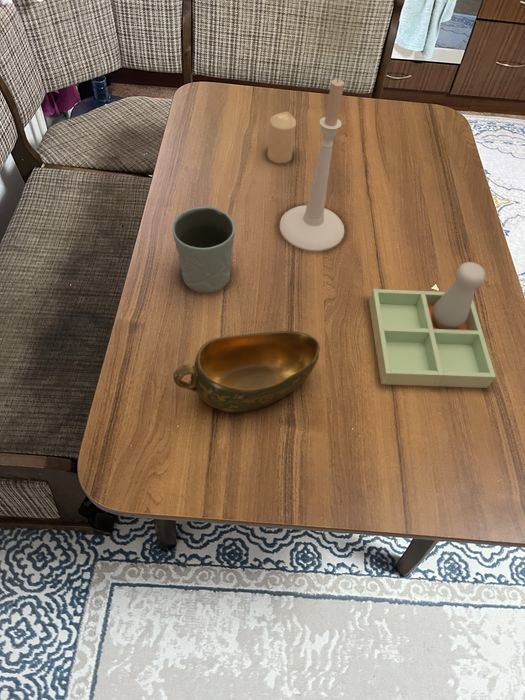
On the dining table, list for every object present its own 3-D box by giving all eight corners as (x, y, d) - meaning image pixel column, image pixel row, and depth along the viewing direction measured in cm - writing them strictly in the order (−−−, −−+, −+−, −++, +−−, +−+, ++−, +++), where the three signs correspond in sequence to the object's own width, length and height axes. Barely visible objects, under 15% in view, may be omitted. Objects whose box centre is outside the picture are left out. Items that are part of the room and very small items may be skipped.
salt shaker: (460, 310, 94) (490, 258, 84) (464, 336, 91) (495, 285, 80) (427, 306, 94) (453, 254, 84) (430, 332, 91) (457, 280, 80)
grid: (463, 306, 96) (471, 292, 93) (486, 388, 86) (496, 377, 83) (368, 302, 95) (373, 288, 92) (380, 385, 85) (386, 373, 82)
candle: (277, 146, 120) (281, 104, 112) (296, 156, 119) (302, 114, 110) (262, 157, 118) (265, 114, 110) (281, 167, 116) (286, 125, 108)
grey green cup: (240, 264, 99) (242, 213, 89) (223, 304, 93) (223, 254, 83) (189, 251, 100) (185, 200, 90) (169, 290, 94) (162, 239, 84)
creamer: (194, 345, 88) (190, 305, 79) (314, 364, 87) (323, 326, 79) (175, 413, 80) (169, 377, 72) (306, 434, 79) (316, 401, 71)
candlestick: (334, 259, 101) (370, 110, 76) (270, 241, 103) (285, 90, 78) (350, 217, 108) (387, 69, 84) (290, 201, 110) (309, 51, 85)
